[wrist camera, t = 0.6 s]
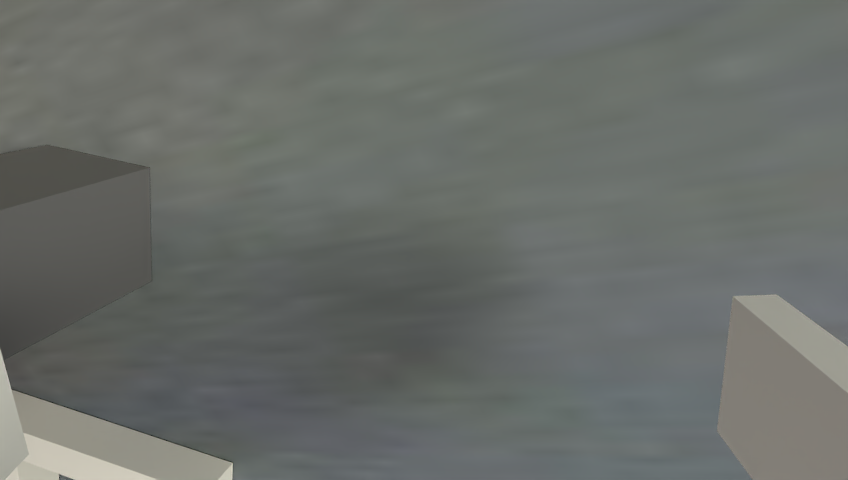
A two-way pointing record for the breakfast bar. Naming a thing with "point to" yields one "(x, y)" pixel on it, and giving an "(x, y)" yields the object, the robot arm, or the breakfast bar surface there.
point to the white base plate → (101, 449)
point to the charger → (68, 239)
